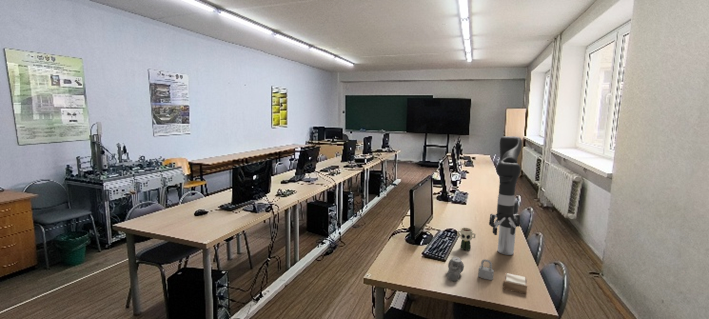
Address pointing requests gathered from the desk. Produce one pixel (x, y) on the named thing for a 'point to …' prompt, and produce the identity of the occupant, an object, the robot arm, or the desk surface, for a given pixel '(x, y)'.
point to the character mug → (466, 238)
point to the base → (515, 283)
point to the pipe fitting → (455, 268)
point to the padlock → (486, 271)
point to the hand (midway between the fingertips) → (503, 234)
